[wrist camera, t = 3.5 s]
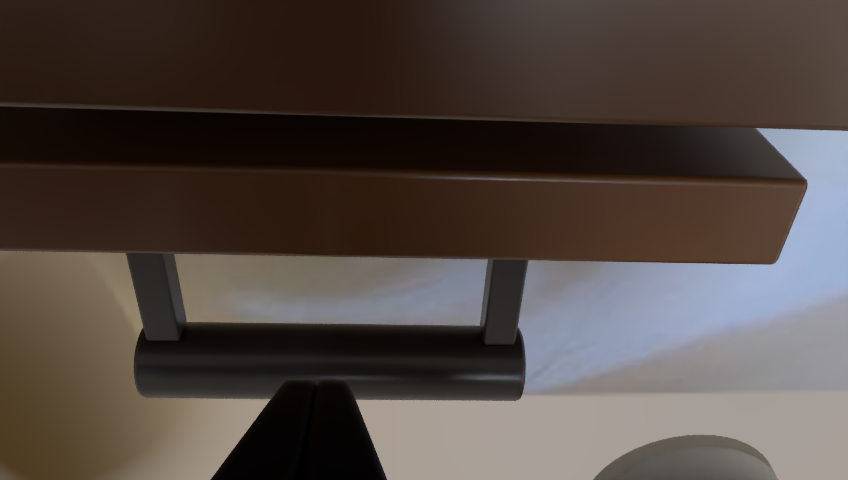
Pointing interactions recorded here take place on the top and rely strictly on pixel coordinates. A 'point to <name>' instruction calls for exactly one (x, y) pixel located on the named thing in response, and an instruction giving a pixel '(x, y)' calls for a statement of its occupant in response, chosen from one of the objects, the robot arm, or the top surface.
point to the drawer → (375, 225)
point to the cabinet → (438, 59)
